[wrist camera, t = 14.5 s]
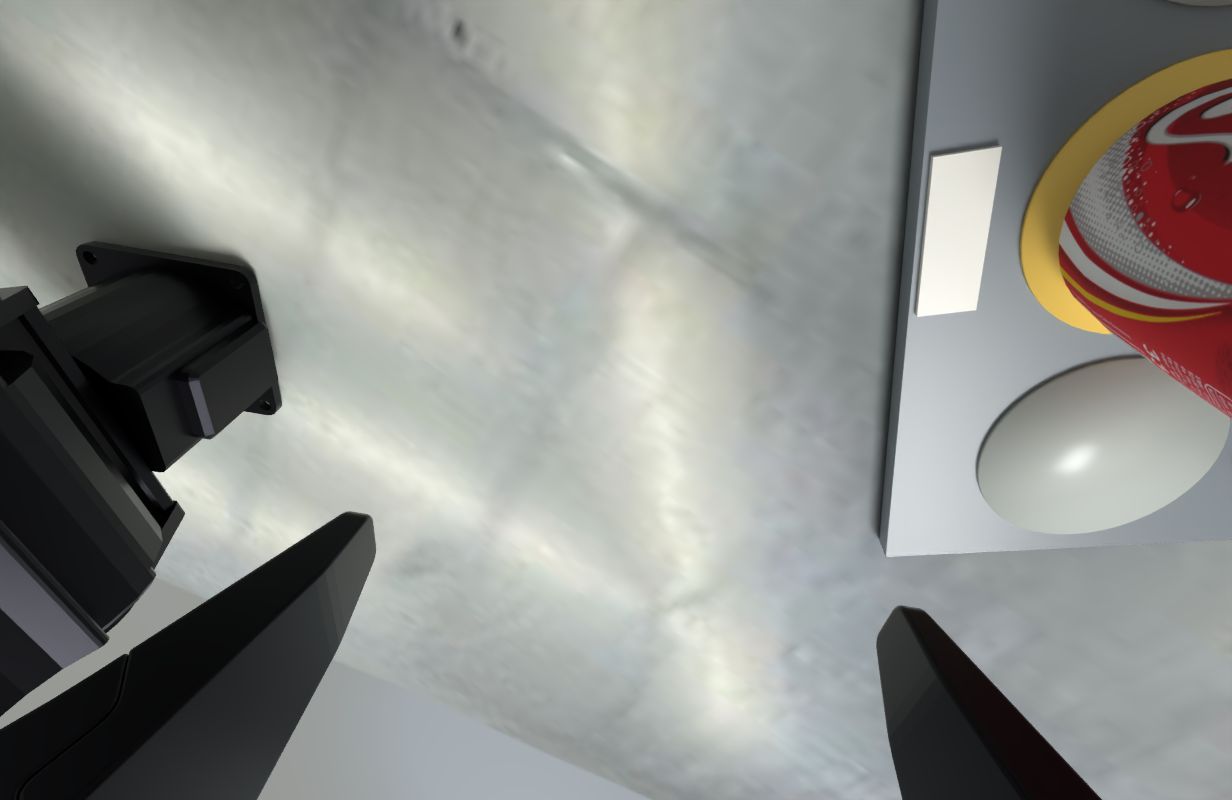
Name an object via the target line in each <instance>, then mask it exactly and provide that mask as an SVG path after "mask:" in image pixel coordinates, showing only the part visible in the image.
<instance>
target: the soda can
mask: <svg viewBox="0 0 1232 800" xmlns="http://www.w3.org/2000/svg"><path fill="white" fill-rule="evenodd" d="M1058 255H1059V263H1060V270H1061V273H1062V276H1063V279H1064V282H1065V284H1066V286H1067V288H1068V289H1069V291H1070V292H1071V294H1072V295H1073V297H1074V298H1075V299H1076V300H1077V301H1078V302H1079V303H1081V304H1082V305H1083V306H1084V307H1085V308H1086V309H1087V310H1088V311H1089V312H1090V313H1091V314H1092V315H1093V316H1094V317H1095V318H1096V319H1097V320H1098V321H1099V322H1100V323H1101V324H1102V325H1103V326H1104V327H1105V328H1107V329H1108V330H1109V331H1110V332H1111V333H1112V334H1113V335H1114V336H1116V337H1117V338H1118V339H1120V340H1121V341H1123V342H1124V343H1125V344H1127V345H1128V346H1129V347H1131V348H1132V349H1133V350H1135V351H1136V352H1138V353H1139V354H1140V355H1142V356H1143V357H1144V358H1146V359H1147V360H1149V361H1150V362H1151V363H1153V364H1154V365H1156V366H1157V367H1158V368H1160V369H1161V370H1163V371H1164V372H1165V373H1167V374H1168V375H1170V376H1171V377H1172V378H1174V379H1175V380H1177V381H1178V382H1180V383H1181V384H1182V385H1184V386H1185V387H1187V388H1188V389H1189V390H1191V391H1192V392H1194V393H1195V394H1196V395H1198V396H1199V397H1201V398H1202V399H1204V400H1205V401H1206V402H1208V403H1209V404H1211V405H1212V406H1214V407H1215V408H1217V409H1218V410H1219V411H1221V412H1222V413H1224V414H1225V415H1227V416H1228V417H1229V418H1231V419H1232V78H1231V79H1227V80H1224V81H1220V82H1217V83H1213V84H1210V85H1207V86H1204V87H1202V88H1199V89H1197V90H1194V91H1192V92H1190V93H1187V94H1185V95H1183V96H1180V97H1179V98H1177V99H1175V100H1173V101H1171V102H1170V103H1168V104H1166V105H1164V106H1162V107H1161V108H1159V109H1157V110H1156V111H1154V112H1153V113H1151V114H1150V115H1149V116H1147V117H1146V118H1144V119H1143V120H1141V121H1140V122H1139V123H1137V124H1136V125H1134V126H1133V127H1132V128H1131V129H1130V130H1129V131H1128V132H1126V133H1125V134H1124V135H1123V136H1122V137H1121V138H1119V139H1118V140H1117V141H1116V142H1115V143H1114V144H1113V145H1112V146H1111V147H1110V148H1109V149H1108V150H1107V151H1106V153H1105V154H1104V155H1103V156H1102V157H1101V158H1100V159H1099V160H1098V161H1097V162H1096V164H1095V165H1094V166H1093V168H1092V169H1091V170H1090V172H1089V173H1088V175H1087V176H1086V177H1085V179H1084V180H1083V181H1082V183H1081V185H1080V187H1079V188H1078V190H1077V192H1076V194H1075V195H1074V197H1073V199H1072V201H1071V203H1070V206H1069V208H1068V211H1067V213H1066V216H1065V218H1064V221H1063V225H1062V230H1061V234H1060V238H1059V254H1058Z"/></svg>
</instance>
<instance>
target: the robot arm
mask: <svg viewBox="0 0 1232 800" xmlns="http://www.w3.org/2000/svg"><path fill="white" fill-rule="evenodd" d="M76 254H77V258H78V260H79V263H80V266H81V268H82V271H83V274H84V276H85V279H86V282H87V284H88V288H85V289H83V290H81V291H79V292H76V293H74V294H72V295H70V296H67V297H65V298H63V299H61V300H58V301H56V302H54V303H51V304H49V305H47V306H45V307H42V308H40V309H38V307H37V305H39V302H38V301H37V299H36V298H35V296H34V295H33V293H32V292H31V291H30V289H29V288H28V286H19V287H10V288H0V717H1V716H2V715H3V714H4V713H5V712H6V711H8V710H9V709H10V708H11V707H12V706H14V705H15V704H16V703H17V702H18V701H19V700H21V699H22V698H23V697H24V696H25V695H27V694H28V693H30V692H31V691H32V690H34V689H35V688H37V687H38V686H39V685H41V684H42V683H44V682H45V681H46V680H48V679H49V678H51V677H52V676H53V675H55V674H56V673H57V672H59V671H61V670H62V669H64V668H65V667H67V666H69V665H71V664H72V663H74V662H76V661H78V660H79V659H81V658H83V657H85V656H86V655H88V654H90V653H91V652H93V651H95V650H97V649H99V648H100V647H102V646H103V645H105V644H106V643H107V642H108V640H109V636H108V635H107V634H106V633H107V632H108V631H109V630H110V629H112V628H113V627H114V626H115V625H116V624H118V623H119V622H120V620H121V619H122V618H123V617H124V616H125V615H126V614H127V613H128V612H129V611H130V610H131V608H132V607H133V605H134V604H135V603H136V602H137V601H138V600H139V598H140V597H141V596H142V595H143V594H144V592H145V591H146V590H147V589H148V587H150V585H151V584H152V582H153V580H154V578H155V576H156V572H155V571H154V569H155V567H156V565H157V564H158V562H159V560H160V558H161V556H162V555H163V553H164V551H165V549H166V547H167V546H168V544H169V542H170V540H171V539H172V537H173V535H174V533H175V531H176V530H177V528H178V526H179V524H180V522H181V521H182V519H183V517H184V515H185V512H184V511H183V509H182V508H181V506H180V505H179V504H178V502H177V501H173V500H172V499H171V498H170V496H169V495H168V493H167V492H166V490H165V489H164V488H163V486H162V485H161V483H160V482H159V480H158V479H157V478H156V476H155V475H154V473H153V472H152V471H155V472H164V471H165V470H167V469H168V468H169V467H170V466H171V465H172V464H174V463H175V462H176V461H177V460H178V459H179V458H181V457H182V456H183V455H184V454H185V453H186V452H187V451H189V450H190V449H191V448H192V447H193V446H194V445H196V444H197V443H198V442H199V441H200V440H201V439H203V438H204V439H212V438H213V437H215V436H216V435H217V434H218V433H219V432H220V431H222V430H223V429H224V428H225V427H226V426H227V425H228V424H230V423H231V422H232V421H233V420H234V419H235V418H236V417H237V416H239V415H240V414H241V413H242V412H243V411H246V412H252V413H258V414H264V415H272V414H275V413H276V412H277V411H278V410H279V409H280V408H281V406H282V401H281V396H280V391H279V386H278V376H277V371H276V367H275V362H274V357H273V352H272V347H271V342H270V337H269V333H268V329H267V327H266V323H265V318H264V313H263V309H262V304H261V299H260V294H259V289H258V284H257V280H256V278H255V276H254V274H253V273H252V272H251V271H250V270H248V269H247V268H245V267H242V266H237V265H231V264H225V263H219V262H213V261H207V260H202V259H196V258H190V257H184V256H178V255H172V254H166V253H160V252H154V251H148V250H142V249H136V248H131V247H125V246H119V245H113V244H107V243H101V242H95V241H92V242H87V243H84V244H82V245H80V246H78V247H77V249H76ZM93 254H94V255H95V257H96V258H97V259H96V258H95V257H94V255H93ZM237 277H239V278H240V279H241V280H242V281H243V283H244V285H243V284H241V283H240V282H239V281H238V279H237ZM265 401H267V402H268V403H269V404H270V405H269V404H268V403H266V402H265ZM375 554H376V543H375V534H374V526H373V520H372V518H371V516H370V515H368V514H363V513H357V512H350V511H349V512H345V513H342V514H341V515H339V516H338V517H336V518H335V519H333V520H331V521H330V522H328V523H327V524H325V525H324V526H322V527H321V528H319V529H317V530H316V531H314V532H313V533H311V534H310V535H308V536H307V537H305V538H304V539H302V540H300V541H299V542H297V543H296V544H294V545H293V546H291V547H290V548H288V549H286V550H285V551H283V552H282V553H280V554H279V555H277V556H276V557H274V558H273V559H271V560H269V561H268V562H266V563H265V564H263V565H262V566H260V567H259V568H257V569H255V570H254V571H252V572H251V573H249V574H248V575H246V576H245V577H243V578H242V579H240V580H238V581H237V582H235V583H234V584H232V585H231V586H229V587H228V588H226V589H224V590H223V591H221V592H220V593H218V594H217V595H215V596H214V597H212V598H211V599H209V600H207V601H206V602H204V603H203V604H201V605H200V606H198V607H197V608H195V609H193V610H192V611H190V612H189V613H187V614H186V615H184V616H183V617H181V618H179V619H178V620H176V621H175V622H173V623H172V624H170V625H169V626H167V627H166V628H164V629H162V630H161V631H159V632H158V633H156V634H155V635H153V636H152V637H150V638H148V639H147V640H146V641H144V642H142V643H141V644H139V645H138V646H136V647H135V648H133V649H132V650H131V651H130V652H129V655H128V654H124V655H122V656H120V657H119V658H117V659H116V660H114V661H113V662H111V663H109V664H108V665H106V666H105V667H103V668H102V669H100V670H99V671H97V672H95V673H94V674H92V675H91V676H89V677H87V678H86V679H84V680H83V681H81V682H79V683H78V684H76V685H75V686H73V687H71V688H70V689H68V690H66V691H65V692H63V693H62V694H60V695H58V696H57V697H55V698H54V699H52V700H50V701H49V702H47V703H45V704H43V705H42V706H40V707H38V708H37V709H35V710H33V711H31V712H30V713H28V714H26V715H24V716H23V717H21V718H19V719H17V720H16V721H14V722H12V723H11V724H9V725H7V726H5V727H4V728H2V729H0V800H257V798H258V796H259V795H260V793H261V791H262V789H263V787H264V785H265V784H266V782H267V780H268V778H269V776H270V774H271V772H272V771H273V769H274V767H275V765H276V763H277V761H278V759H279V757H280V756H281V753H282V752H283V750H284V748H285V746H286V744H287V743H288V741H289V739H290V737H291V735H292V733H293V731H294V729H295V728H296V726H297V724H298V722H299V720H300V718H301V716H302V715H303V713H304V711H305V709H306V707H307V705H308V704H309V702H310V700H311V698H312V696H313V694H314V692H315V690H316V688H317V687H318V685H319V683H320V681H321V679H322V677H323V676H324V674H325V672H326V670H327V668H328V666H329V664H330V662H331V661H332V659H333V657H334V655H335V653H336V651H337V649H338V647H339V645H340V643H341V640H342V638H343V636H344V633H345V631H346V629H347V626H348V624H349V621H350V619H351V616H352V614H353V611H354V609H355V606H356V604H357V601H358V599H359V596H360V594H361V592H362V589H363V587H364V584H365V582H366V579H367V577H368V574H369V572H370V569H371V567H372V564H373V562H374V559H375ZM876 648H877V656H878V664H879V672H880V680H881V687H882V695H883V703H884V711H885V718H886V726H887V732H888V738H889V743H890V748H891V753H892V757H893V761H894V766H895V770H896V774H897V778H898V783H899V787H900V791H901V795H902V800H1102V799H1101V798H1100V797H1099V796H1098V795H1097V794H1096V793H1095V792H1094V791H1093V790H1092V789H1091V787H1090V786H1089V785H1088V784H1087V783H1086V782H1085V781H1084V780H1083V779H1082V778H1081V777H1080V776H1079V775H1078V774H1077V772H1076V771H1075V770H1074V769H1073V768H1072V767H1071V766H1070V765H1069V764H1068V763H1067V762H1066V761H1065V760H1064V759H1063V758H1062V756H1061V755H1060V754H1059V753H1058V752H1057V751H1056V750H1055V749H1054V748H1053V747H1052V746H1051V745H1050V744H1049V743H1048V742H1047V740H1046V739H1045V738H1044V737H1043V736H1042V735H1041V734H1040V733H1039V732H1038V731H1037V730H1036V729H1035V728H1034V727H1033V726H1032V724H1031V723H1030V722H1029V721H1028V720H1027V719H1026V718H1025V717H1024V716H1023V715H1022V714H1021V713H1020V712H1019V711H1018V710H1017V708H1016V707H1015V706H1014V705H1013V704H1012V703H1011V702H1010V701H1009V700H1008V699H1007V698H1006V697H1005V696H1004V695H1003V694H1002V692H1001V691H1000V690H999V689H998V688H997V687H996V686H995V685H994V684H993V683H992V682H991V681H990V680H989V679H988V678H987V676H986V675H985V674H984V673H983V672H982V671H981V670H980V669H979V668H978V667H977V666H976V665H975V664H974V663H973V662H972V660H971V659H970V658H969V657H968V656H967V655H966V654H965V653H964V652H963V651H962V650H961V649H960V648H959V647H958V646H957V644H956V643H955V642H954V641H953V640H952V639H951V638H950V637H949V636H948V635H947V634H946V633H945V632H944V631H943V629H942V628H941V627H940V626H939V625H938V624H937V623H936V622H935V621H934V620H933V619H932V618H931V617H930V616H929V615H928V614H927V613H926V612H925V611H924V610H922V609H919V608H914V607H908V606H897V607H896V608H894V610H893V611H892V613H891V614H890V616H889V618H888V619H887V621H886V622H885V624H884V625H883V627H882V629H881V630H880V632H879V634H878V637H877V642H876Z"/></svg>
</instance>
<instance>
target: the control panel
mask: <svg viewBox="0 0 1232 800" xmlns="http://www.w3.org/2000/svg"><path fill="white" fill-rule="evenodd" d="M1231 78H1232V0H925V2H924V14H923V25H922V37H921V49H920V61H919V73H918V85H917V97H916V109H915V121H914V133H913V145H912V156H911V168H910V180H909V192H908V204H907V216H906V228H905V240H904V252H903V264H902V276H901V287H900V299H899V311H898V323H897V335H896V347H895V359H894V371H893V383H892V395H891V407H890V418H889V430H888V442H887V454H886V466H885V478H884V490H883V502H882V514H881V526H880V537H879V540H880V543H881V546H882V548H883V551H884V553H885V556H886V557H893V556H913V555H934V554H954V553H974V552H994V551H1015V550H1035V549H1055V548H1076V547H1096V546H1116V545H1137V544H1157V543H1177V542H1197V541H1218V540H1232V419H1231V418H1229V417H1228V416H1227V415H1225V414H1224V413H1222V412H1221V411H1219V410H1218V409H1217V408H1215V407H1214V406H1212V405H1211V404H1209V403H1208V402H1206V401H1205V400H1204V399H1202V398H1201V397H1199V396H1198V395H1196V394H1195V393H1194V392H1192V391H1191V390H1189V389H1188V388H1187V387H1185V386H1184V385H1182V384H1181V383H1180V382H1178V381H1177V380H1175V379H1174V378H1172V377H1171V376H1170V375H1168V374H1167V373H1165V372H1164V371H1163V370H1161V369H1160V368H1158V367H1157V366H1156V365H1154V364H1153V363H1151V362H1150V361H1149V360H1147V359H1146V358H1144V357H1143V356H1142V355H1140V354H1139V353H1138V352H1136V351H1135V350H1133V349H1132V348H1131V347H1129V346H1128V345H1127V344H1125V343H1124V342H1123V341H1121V340H1120V339H1118V338H1117V337H1116V336H1114V335H1113V334H1112V333H1111V332H1110V331H1109V330H1108V329H1107V328H1105V327H1104V326H1103V325H1102V324H1101V323H1100V322H1099V321H1098V320H1097V319H1096V318H1095V317H1094V316H1093V315H1092V314H1091V313H1090V312H1089V311H1088V310H1087V309H1086V308H1085V307H1084V306H1083V305H1082V304H1081V303H1079V302H1078V301H1077V300H1076V299H1075V298H1074V297H1073V295H1072V294H1071V292H1070V291H1069V289H1068V288H1067V286H1066V284H1065V282H1064V279H1063V276H1062V273H1061V270H1060V263H1059V255H1058V254H1059V238H1060V234H1061V230H1062V225H1063V221H1064V218H1065V216H1066V213H1067V211H1068V208H1069V206H1070V203H1071V201H1072V199H1073V197H1074V195H1075V194H1076V192H1077V190H1078V188H1079V187H1080V185H1081V183H1082V181H1083V180H1084V179H1085V177H1086V176H1087V175H1088V173H1089V172H1090V170H1091V169H1092V168H1093V166H1094V165H1095V164H1096V162H1097V161H1098V160H1099V159H1100V158H1101V157H1102V156H1103V155H1104V154H1105V153H1106V151H1107V150H1108V149H1109V148H1110V147H1111V146H1112V145H1113V144H1114V143H1115V142H1116V141H1117V140H1118V139H1119V138H1121V137H1122V136H1123V135H1124V134H1125V133H1126V132H1128V131H1129V130H1130V129H1131V128H1132V127H1133V126H1134V125H1136V124H1137V123H1139V122H1140V121H1141V120H1143V119H1144V118H1146V117H1147V116H1149V115H1150V114H1151V113H1153V112H1154V111H1156V110H1157V109H1159V108H1161V107H1162V106H1164V105H1166V104H1168V103H1170V102H1171V101H1173V100H1175V99H1177V98H1179V97H1180V96H1183V95H1185V94H1187V93H1190V92H1192V91H1194V90H1197V89H1199V88H1202V87H1204V86H1207V85H1210V84H1213V83H1217V82H1220V81H1224V80H1227V79H1231Z"/></svg>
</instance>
